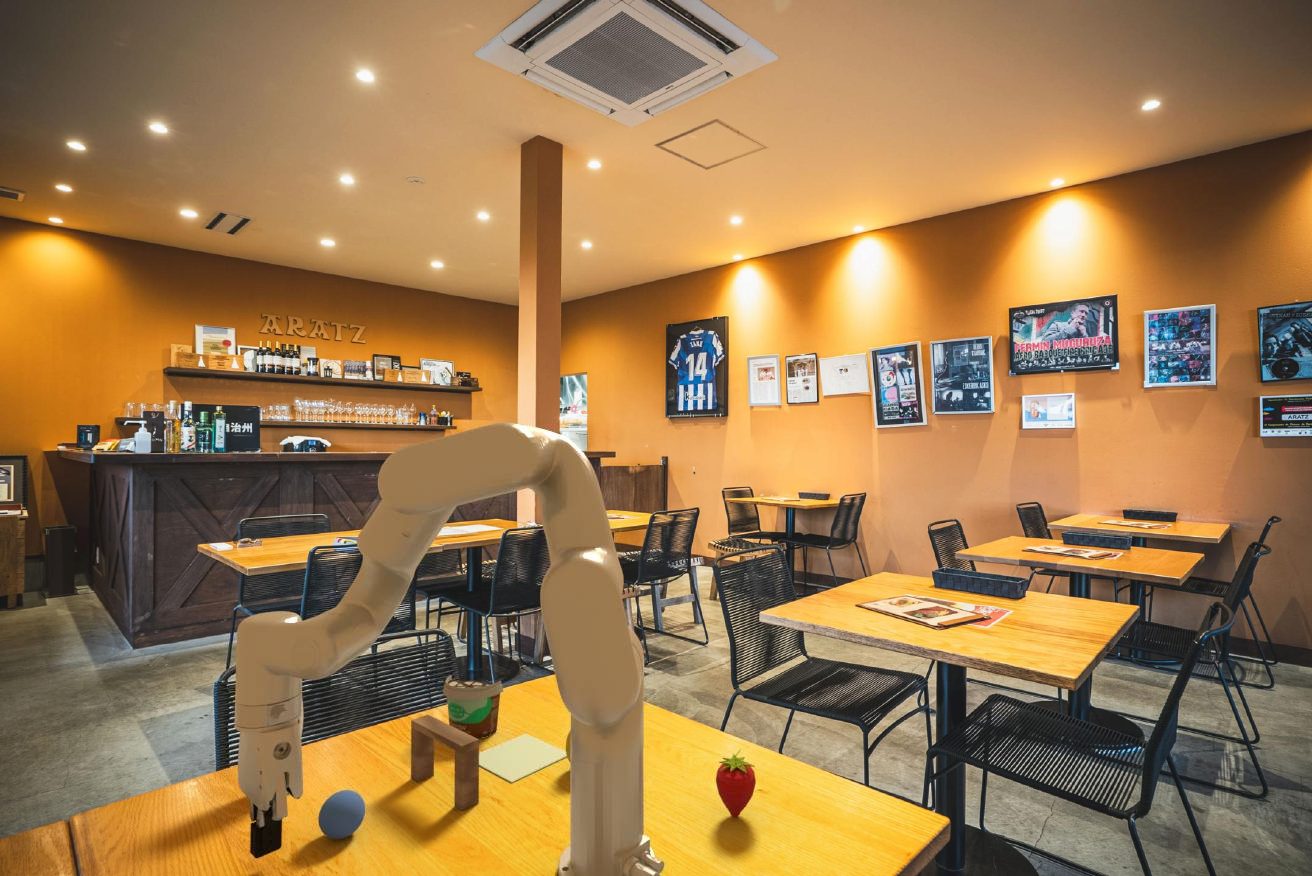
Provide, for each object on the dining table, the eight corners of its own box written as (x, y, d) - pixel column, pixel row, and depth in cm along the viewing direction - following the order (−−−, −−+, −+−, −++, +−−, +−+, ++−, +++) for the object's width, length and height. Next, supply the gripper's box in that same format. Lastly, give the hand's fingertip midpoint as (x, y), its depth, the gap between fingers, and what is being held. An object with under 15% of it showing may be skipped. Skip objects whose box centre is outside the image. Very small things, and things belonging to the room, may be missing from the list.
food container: (429, 738, 123) (429, 685, 123) (448, 725, 129) (448, 674, 129) (486, 746, 119) (486, 691, 119) (503, 732, 125) (503, 680, 125)
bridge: (427, 771, 110) (427, 714, 110) (478, 802, 100) (479, 739, 100) (410, 778, 107) (411, 719, 108) (461, 810, 98) (461, 746, 98)
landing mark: (571, 754, 116) (571, 753, 116) (511, 782, 106) (511, 781, 106) (525, 734, 124) (525, 733, 124) (466, 758, 114) (466, 757, 114)
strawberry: (756, 804, 99) (756, 738, 99) (755, 832, 92) (755, 761, 92) (717, 801, 100) (717, 735, 100) (714, 829, 93) (713, 758, 93)
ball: (372, 833, 92) (373, 791, 92) (329, 853, 87) (329, 808, 87) (353, 818, 96) (354, 777, 96) (310, 836, 91) (311, 793, 91)
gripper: (322, 716, 83) (319, 861, 82) (278, 688, 92) (275, 817, 92) (257, 735, 77) (253, 891, 77) (217, 703, 87) (214, 841, 86)
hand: (265, 850), depth 84 cm, fingers closed
